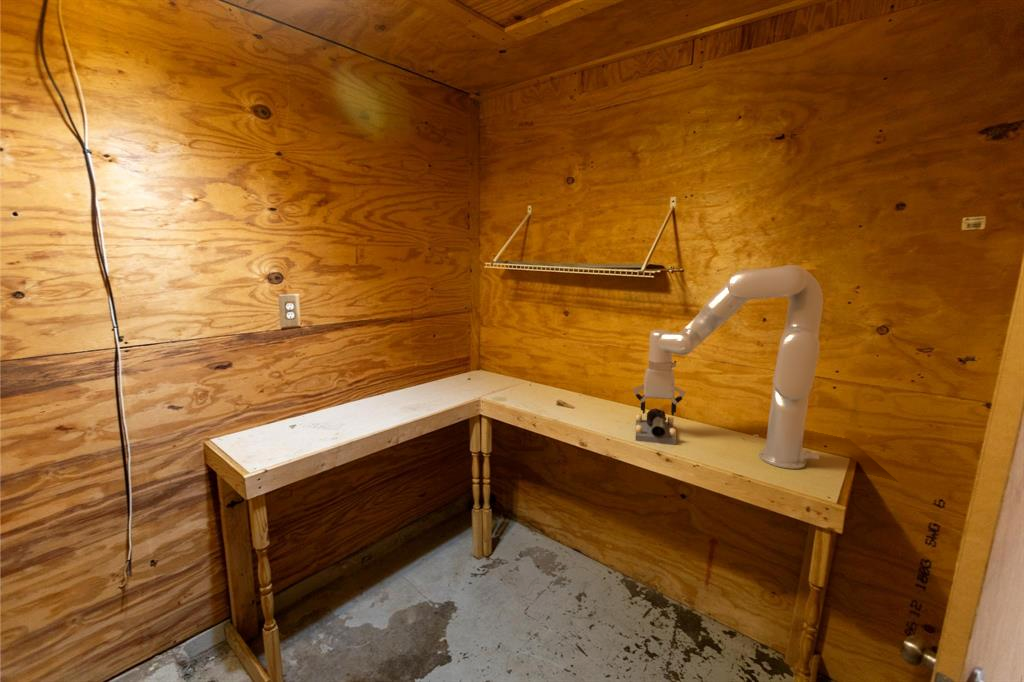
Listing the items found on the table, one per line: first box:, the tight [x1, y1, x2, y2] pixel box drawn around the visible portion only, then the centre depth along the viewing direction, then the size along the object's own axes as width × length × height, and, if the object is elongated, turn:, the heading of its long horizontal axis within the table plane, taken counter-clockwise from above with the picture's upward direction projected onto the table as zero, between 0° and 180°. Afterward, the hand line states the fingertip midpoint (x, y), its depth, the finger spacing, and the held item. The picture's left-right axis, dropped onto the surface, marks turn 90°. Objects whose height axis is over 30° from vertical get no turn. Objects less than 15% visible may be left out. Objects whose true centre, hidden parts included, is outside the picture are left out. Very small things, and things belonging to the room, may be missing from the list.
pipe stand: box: [635, 413, 677, 446], centre depth 162 cm, size 13×16×4 cm
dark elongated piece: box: [646, 407, 667, 438], centre depth 162 cm, size 18×7×6 cm, turn 162°
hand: (657, 413), depth 161 cm, fingers open, 9 cm apart
